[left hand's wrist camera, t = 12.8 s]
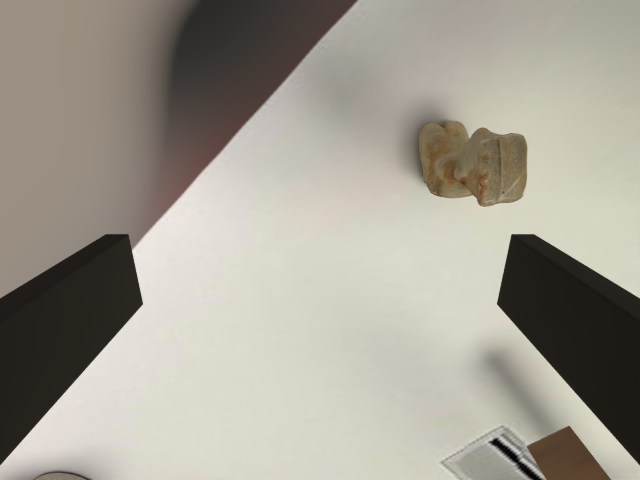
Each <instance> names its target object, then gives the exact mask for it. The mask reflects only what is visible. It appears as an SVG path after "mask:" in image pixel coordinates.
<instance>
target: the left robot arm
mask: <svg viewBox="0 0 640 480" xmlns="http://www.w3.org/2000/svg"><path fill="white" fill-rule="evenodd" d="M142 305H143V302H142V297H141V292H140V287H139V283H138V278H137V273H136V268H135V264H134V259H133V254H132V249H131V245H130V240H129V235H128V234H106V235H104V236H102V237H101V238H99V239H97V240H96V241H94V242H93V243H91V244H89V245H88V246H86V247H84V248H83V249H81V250H79V251H78V252H76V253H74V254H73V255H71V256H69V257H68V258H66V259H65V260H63V261H61V262H60V263H58V264H56V265H55V266H53V267H51V268H50V269H48V270H46V271H45V272H43V273H41V274H40V275H38V276H37V277H35V278H33V279H32V280H30V281H28V282H27V283H25V284H23V285H22V286H20V287H18V288H17V289H15V290H13V291H12V292H10V293H9V294H7V295H5V296H4V297H2V298H0V465H1V464H2V463H3V461H4V460H5V459H6V458H7V457H8V456H9V455H10V454H11V452H12V451H13V450H14V449H15V448H16V447H17V446H18V445H19V443H20V442H21V441H22V440H23V439H24V438H25V437H26V436H27V434H28V433H29V432H30V431H31V430H32V429H33V428H34V427H35V425H36V424H37V423H38V422H39V421H40V420H41V419H42V418H43V416H44V415H45V414H46V413H47V412H48V411H49V410H50V408H51V407H52V406H53V405H54V404H55V403H56V402H57V401H58V399H59V398H60V397H61V396H62V395H63V394H64V393H65V392H66V390H67V389H68V388H69V387H70V386H71V385H72V384H73V383H74V381H75V380H76V379H77V378H78V377H79V376H80V375H81V374H82V372H83V371H84V370H85V369H86V368H87V367H88V366H89V365H90V363H91V362H92V361H93V360H94V359H95V358H96V357H97V355H98V354H99V353H100V352H101V351H102V350H103V349H104V348H105V346H106V345H107V344H108V343H109V342H110V341H111V340H112V339H113V337H114V336H115V335H116V334H117V333H118V332H119V331H120V330H121V328H122V327H123V326H124V325H125V324H126V323H127V322H128V321H129V319H130V318H131V317H132V316H133V315H134V314H135V313H136V311H137V310H138V309H139V308H140V307H141V306H142ZM497 305H498V306H499V307H500V308H501V309H502V310H503V311H504V313H505V314H506V315H507V316H508V317H509V318H510V319H511V321H512V322H513V323H514V324H515V325H516V326H517V327H518V328H519V330H520V331H521V332H522V333H523V334H524V335H525V336H526V337H527V339H528V340H529V341H530V342H531V343H532V344H533V345H534V346H535V348H536V349H537V350H538V351H539V352H540V353H541V354H542V355H543V357H544V358H545V359H546V360H547V361H548V362H549V363H550V365H551V366H552V367H553V368H554V369H555V370H556V371H557V372H558V374H559V375H560V376H561V377H562V378H563V379H564V380H565V381H566V383H567V384H568V385H569V386H570V387H571V388H572V389H573V390H574V392H575V393H576V394H577V395H578V396H579V397H580V398H581V399H582V401H583V402H584V403H585V404H586V405H587V406H588V407H589V408H590V410H591V411H592V412H593V413H594V414H595V415H596V416H597V418H598V419H599V420H600V421H601V422H602V423H603V424H604V425H605V427H606V428H607V429H608V430H609V431H610V432H611V433H612V434H613V436H614V437H615V438H616V439H617V440H618V441H619V442H620V443H621V445H622V446H623V447H624V448H625V449H626V450H627V451H628V452H629V454H630V455H631V456H632V457H633V458H634V459H635V460H636V461H637V463H638V464H639V465H640V298H638V297H636V296H635V295H633V294H632V293H630V292H628V291H627V290H625V289H623V288H622V287H620V286H618V285H617V284H615V283H613V282H612V281H610V280H608V279H607V278H605V277H604V276H602V275H600V274H599V273H597V272H595V271H594V270H592V269H590V268H589V267H587V266H585V265H584V264H582V263H580V262H579V261H577V260H575V259H574V258H572V257H571V256H569V255H567V254H566V253H564V252H562V251H561V250H559V249H557V248H556V247H554V246H552V245H551V244H549V243H547V242H546V241H544V240H543V239H541V238H539V237H538V236H536V235H534V234H512V235H511V240H510V245H509V249H508V254H507V259H506V264H505V268H504V273H503V278H502V283H501V287H500V292H499V297H498V302H497Z"/></svg>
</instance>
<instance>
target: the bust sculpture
mask: <svg viewBox="0 0 640 480" xmlns="http://www.w3.org/2000/svg"><path fill="white" fill-rule="evenodd" d="M35 480H86V479H84V478H82V477H79V476H76V475H72V474H67V473H50V474H45V475H42V476H40V477H38V478H36V479H35Z"/></svg>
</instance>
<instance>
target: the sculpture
mask: <svg viewBox="0 0 640 480" xmlns="http://www.w3.org/2000/svg"><path fill="white" fill-rule="evenodd" d="M418 142H419V153H420V159H421V164H422V169H423V179H424V182H425V183H426V184H427V186H428V189H429V191H430V192H431V193H432V194H434V195H436V196H440V197H446V198H460V197H467V196H471V195H474V196H475V197H476V198H477V201H478V203H479V205H480V206H483V207H486V206H491V205H495V204H498V203H511V202H515V201H517V200H519V199H521V198H522V196H523V192H524V189H525V187H526V181H527V143H526V140H525V138H524V136H522V135H520V134H513V133H510V134H506V135H499V134H495V133H492V132H490V131H489V130H488V129H486V128H479V129H477V130H476V131H475V132H474V134H473V135H472V136H471V138H470V139H469V137H468V134H467V131H466V129H465V127H464V125H463V124H462V123H460V122H457V121H449V122H445V123H444V124H443V127H441V126H440V125H439V124H438V123H429V124H427V125H425V126H424V127H423V128H422V129H421V131H420V134H419V140H418Z"/></svg>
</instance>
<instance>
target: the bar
mask: <svg viewBox="0 0 640 480" xmlns="http://www.w3.org/2000/svg"><path fill="white" fill-rule="evenodd" d="M527 448H528V450H529V451H530V453H531V455H532V456H533V458H534V460H535V461H536V463H537V465H538V466H539V468H540V470H541V471H542V473H543V475H544V476H545V478H546V480H611V479H610V478H609V477H608V475H607V474H606V473H605V471H604V470H603V469H602V467H601V466H600V465H599V464H598V462H597V461H596V460H595V458H594V457H593V456H592V455H591V453H590V452H589V451H588V449H587V448H586V447H585V445H584V444H583V443H582V442H581V440H580V439H579V438H578V436H577V435H576V434H575V432H574V431H573V430H572V429H571V427H570V426H568V427H566V428H564V429H562V430H559V431H557V432H555V433H553V434H551V435H549V436H547V437H545V438H543V439H541V440H539V441H537V442H534V443H532V444H530V445H528V446H527Z"/></svg>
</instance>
